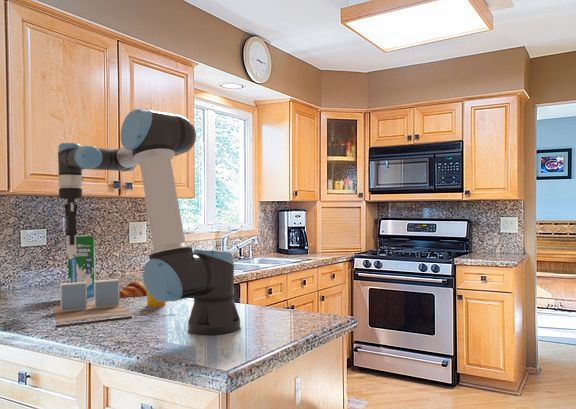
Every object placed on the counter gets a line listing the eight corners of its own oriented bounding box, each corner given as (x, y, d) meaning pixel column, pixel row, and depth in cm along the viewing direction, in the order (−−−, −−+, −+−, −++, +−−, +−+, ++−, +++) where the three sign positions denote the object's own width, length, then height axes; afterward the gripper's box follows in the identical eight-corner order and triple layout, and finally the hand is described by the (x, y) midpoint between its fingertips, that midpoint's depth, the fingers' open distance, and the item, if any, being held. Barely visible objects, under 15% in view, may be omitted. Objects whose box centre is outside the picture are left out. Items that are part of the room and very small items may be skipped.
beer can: (160, 311, 164) (160, 267, 164) (144, 310, 165) (143, 267, 165) (168, 307, 170) (167, 265, 170) (152, 307, 171) (152, 265, 171)
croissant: (157, 301, 199) (152, 283, 202) (171, 292, 194) (165, 273, 196) (110, 309, 183) (105, 289, 185) (124, 299, 177) (118, 279, 180)
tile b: (119, 305, 167) (119, 279, 167) (94, 308, 163) (94, 281, 163) (118, 304, 169) (118, 278, 169) (94, 306, 166) (93, 280, 166)
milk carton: (95, 296, 193) (95, 234, 193) (94, 300, 185) (93, 235, 185) (71, 297, 191) (70, 235, 190) (68, 302, 182) (67, 236, 182)
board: (132, 318, 154) (132, 314, 154) (56, 327, 144) (56, 322, 144) (119, 304, 177) (119, 300, 177) (53, 311, 167) (53, 306, 167)
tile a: (87, 309, 162) (86, 282, 162) (60, 311, 158) (60, 284, 158) (86, 307, 164) (85, 281, 164) (60, 310, 161) (60, 283, 161)
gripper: (84, 186, 162) (85, 255, 162) (79, 188, 178) (80, 250, 178) (59, 186, 159) (60, 256, 159) (57, 188, 175) (58, 252, 175)
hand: (71, 253), depth 168 cm, fingers open, 5 cm apart
